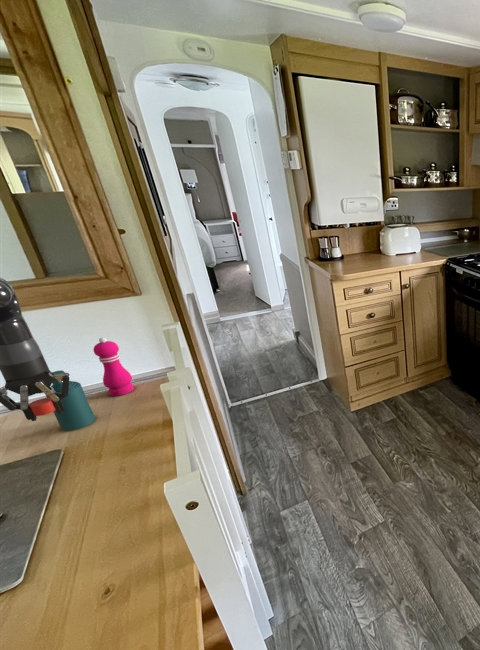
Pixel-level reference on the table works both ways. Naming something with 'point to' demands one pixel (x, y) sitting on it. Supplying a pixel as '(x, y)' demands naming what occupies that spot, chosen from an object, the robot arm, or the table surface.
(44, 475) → the table surface
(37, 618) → the table surface
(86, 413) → the bottle
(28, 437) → the table surface
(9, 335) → the robot arm
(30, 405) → the cap
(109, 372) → the pepper mill
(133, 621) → the table surface
